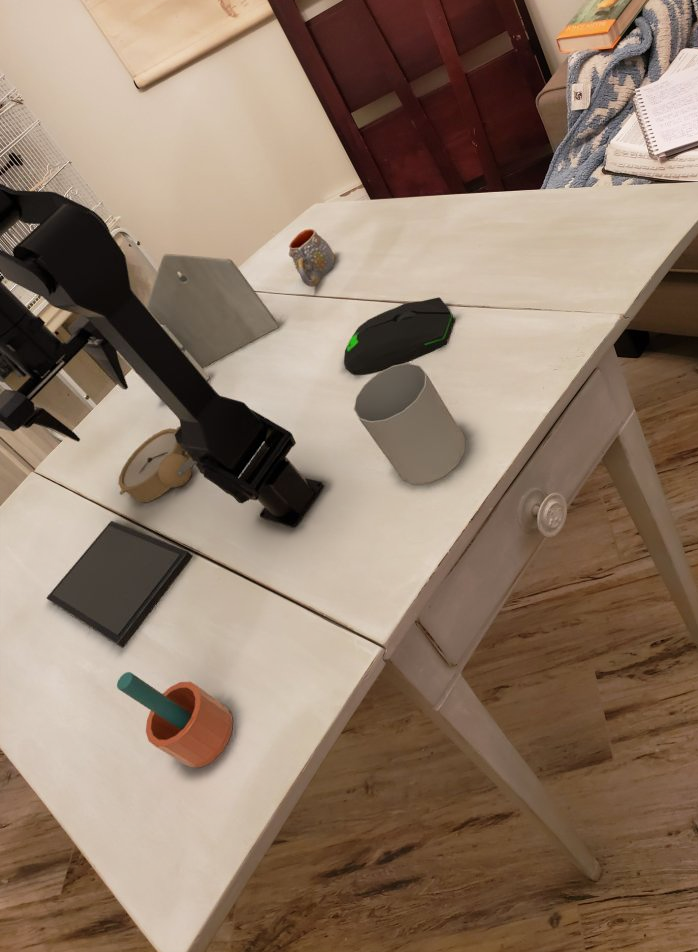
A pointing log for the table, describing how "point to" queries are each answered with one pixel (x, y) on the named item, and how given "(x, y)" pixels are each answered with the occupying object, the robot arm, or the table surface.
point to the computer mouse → (398, 336)
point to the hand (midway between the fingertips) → (102, 413)
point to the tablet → (119, 581)
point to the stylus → (153, 700)
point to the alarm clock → (156, 467)
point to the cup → (410, 423)
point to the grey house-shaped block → (208, 306)
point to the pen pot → (192, 727)
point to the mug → (311, 256)
